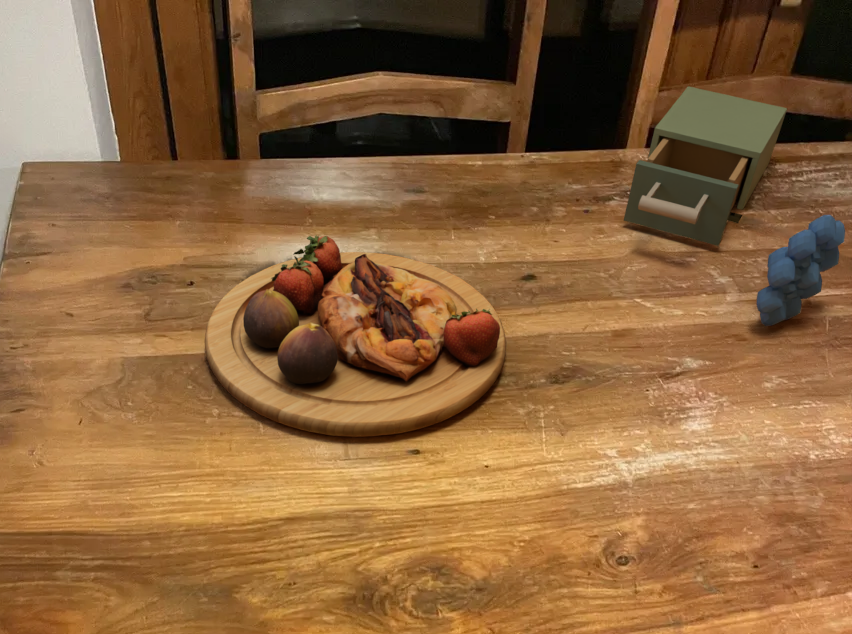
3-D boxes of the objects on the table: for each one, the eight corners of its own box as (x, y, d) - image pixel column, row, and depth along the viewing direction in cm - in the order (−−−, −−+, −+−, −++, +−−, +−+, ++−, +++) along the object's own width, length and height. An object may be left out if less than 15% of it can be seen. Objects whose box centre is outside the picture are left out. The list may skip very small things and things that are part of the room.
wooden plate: (556, 329, 104) (569, 261, 98) (399, 487, 87) (403, 416, 80) (325, 241, 115) (323, 174, 109) (143, 365, 97) (128, 294, 91)
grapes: (783, 286, 112) (820, 188, 103) (830, 313, 109) (873, 213, 100) (719, 317, 107) (753, 216, 98) (766, 345, 104) (806, 244, 95)
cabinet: (738, 223, 122) (761, 153, 115) (638, 197, 126) (654, 127, 119) (764, 176, 131) (787, 108, 124) (670, 153, 135) (688, 85, 128)
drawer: (705, 269, 112) (723, 210, 107) (607, 242, 116) (620, 184, 110) (745, 198, 125) (763, 142, 119) (656, 175, 128) (669, 120, 122)
